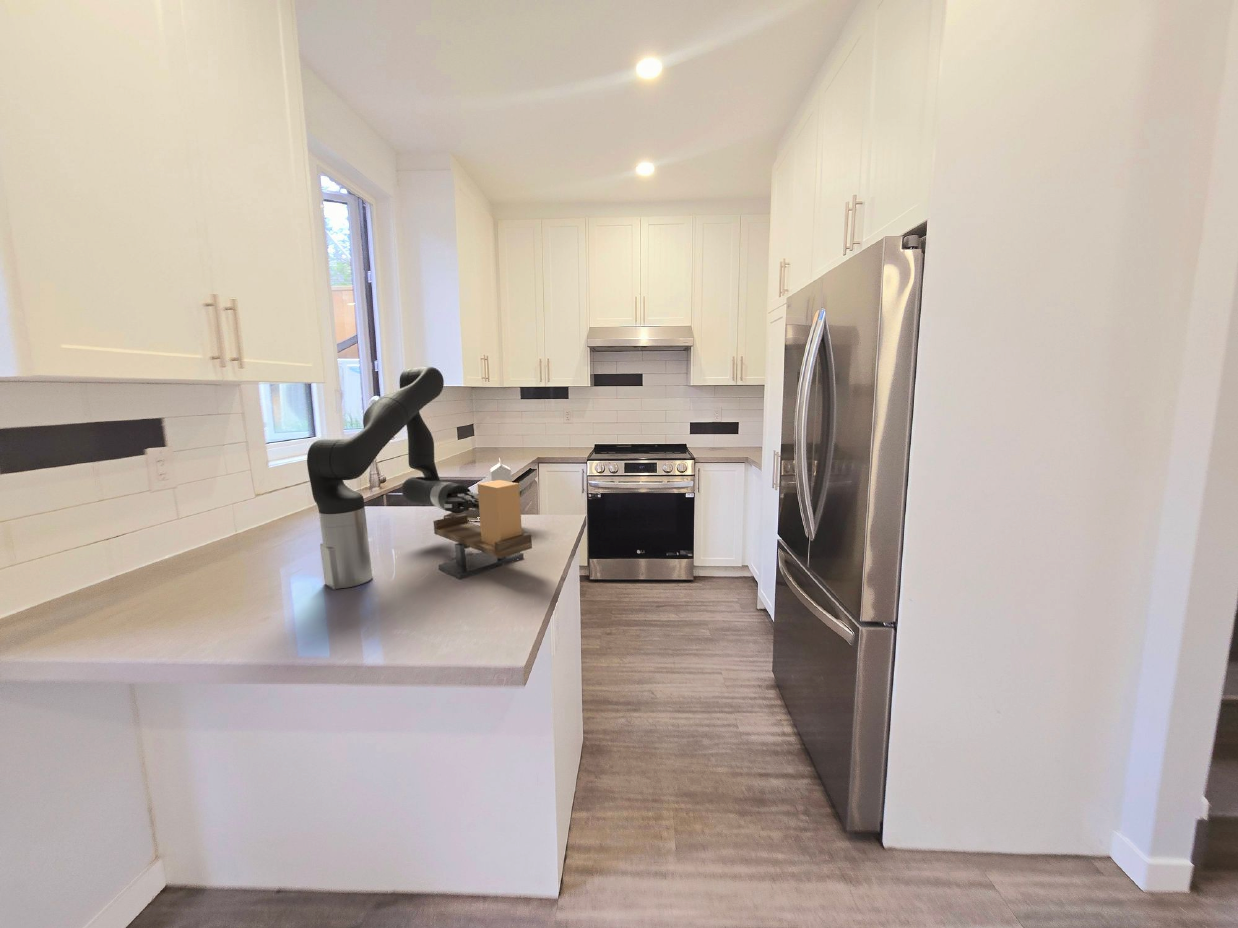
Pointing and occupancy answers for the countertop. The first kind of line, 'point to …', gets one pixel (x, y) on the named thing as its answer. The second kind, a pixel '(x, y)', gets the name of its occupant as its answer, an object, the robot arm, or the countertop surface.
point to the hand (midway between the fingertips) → (486, 506)
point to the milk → (501, 472)
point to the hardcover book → (470, 514)
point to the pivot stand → (474, 562)
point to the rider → (499, 510)
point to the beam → (479, 537)
